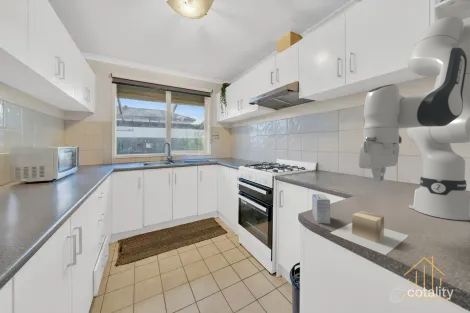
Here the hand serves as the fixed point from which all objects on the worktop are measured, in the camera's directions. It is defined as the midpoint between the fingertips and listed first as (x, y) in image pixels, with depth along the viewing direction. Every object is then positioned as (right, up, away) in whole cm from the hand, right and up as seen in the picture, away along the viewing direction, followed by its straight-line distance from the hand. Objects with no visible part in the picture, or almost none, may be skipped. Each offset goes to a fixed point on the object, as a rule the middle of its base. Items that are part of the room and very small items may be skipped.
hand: (378, 181), depth 58 cm
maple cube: (-3, -13, -2) cm, 13 cm away
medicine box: (-14, -16, +9) cm, 23 cm away
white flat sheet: (-5, -16, -3) cm, 17 cm away
